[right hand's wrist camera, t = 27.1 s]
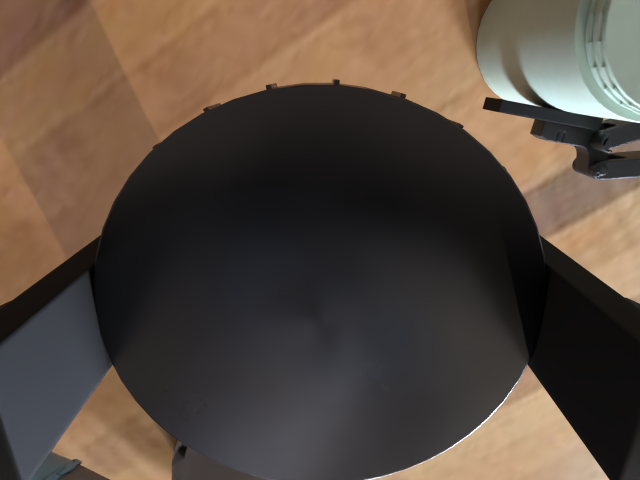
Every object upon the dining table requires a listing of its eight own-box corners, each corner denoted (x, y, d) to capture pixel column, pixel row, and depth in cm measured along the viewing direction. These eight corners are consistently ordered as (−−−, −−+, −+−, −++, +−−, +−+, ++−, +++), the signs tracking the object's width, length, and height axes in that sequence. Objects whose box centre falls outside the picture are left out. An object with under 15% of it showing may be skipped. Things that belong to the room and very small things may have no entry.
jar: (495, -44, 30) (645, -145, 16) (624, -24, 31) (876, -105, 17) (462, 96, 33) (563, 112, 20) (579, 113, 34) (758, 140, 20)
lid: (78, 360, 13) (42, 403, 11) (207, -9, 9) (182, -27, 8) (393, 478, 14) (402, 530, 13) (599, 200, 11) (649, 224, 9)
